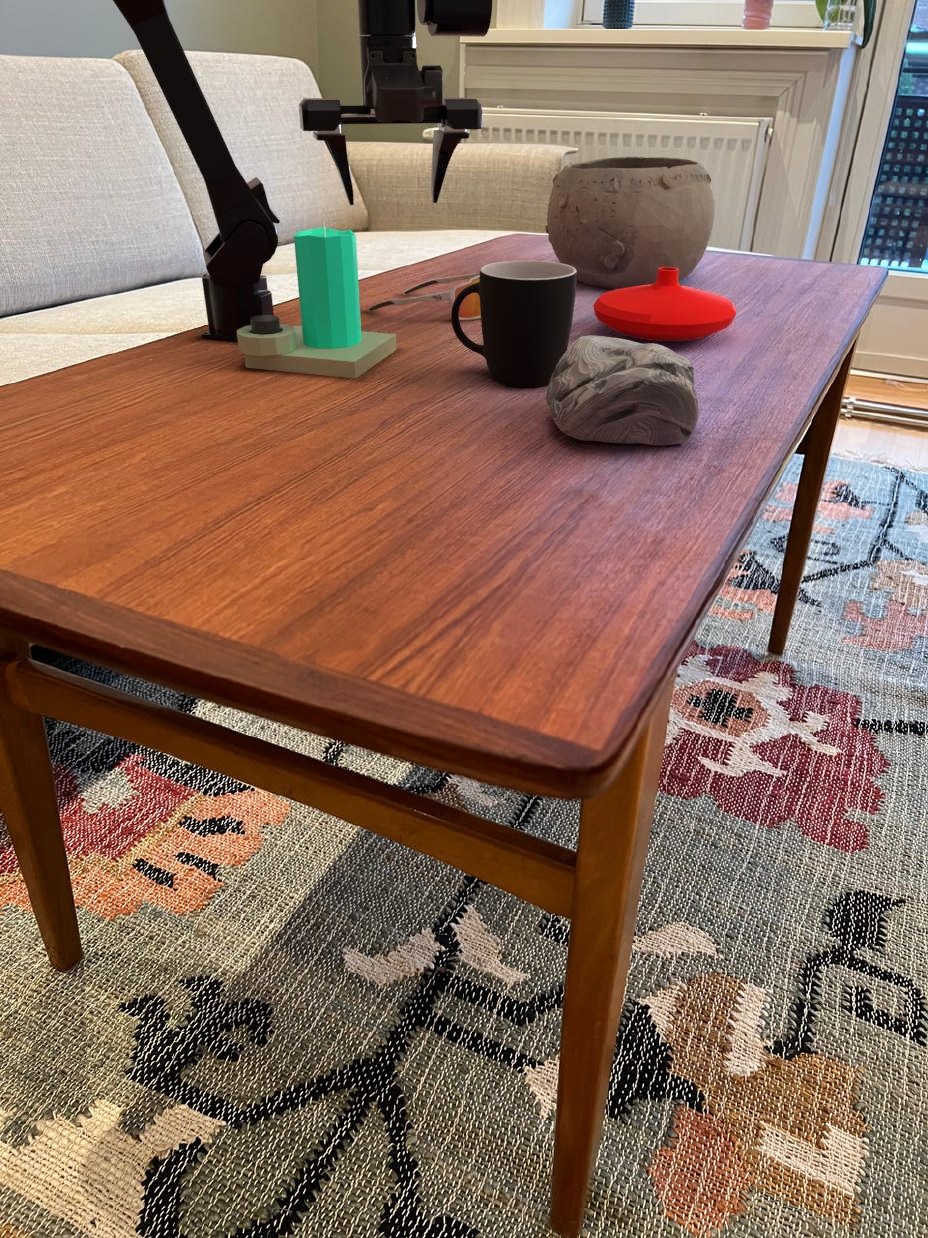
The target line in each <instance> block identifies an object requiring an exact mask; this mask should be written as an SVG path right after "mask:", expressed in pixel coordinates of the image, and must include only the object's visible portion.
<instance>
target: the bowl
mask: <svg viewBox="0 0 928 1238" xmlns="http://www.w3.org/2000/svg"><path fill="white" fill-rule="evenodd" d="M552 184H553V185H552V188H551V192H550V196H549V200H548V205H547V213H546V223H547V225H545V226H544V229H545V233H547V235H548V242H549V243H550V244H551V247H552V250H553V252H554V253H555V256H556V257H557V259H558V261H559V263H562V264H566V265H569V266H572V267H574V268H575V269H576V271H577V281H579V282H581V283H582V284H584V285H588V286H592V287H598V288H606V289H621V288H628V287H634V286H640V285H649V284H654V283H656V280H657V274H658V268H660V267H674V268H678V269H679V273H678V283H681V282H683V281H684V280H685V279H686V278H687V277H688V276H690V275H691V274H692V273H693V272H694V270H695V269H696V268H697V266H698V265H699V263H700V262H701V260H702V259H703V257H704V255H705V253H706V250H707V248H708V245H709V242H710V240H711V236H712V233H713V228H714V222H715V219H716V218H715V217H716V200H715V198H716V197H715V192H714V190H713V186H712V178H711V175H710V173H708V171H707V169H706V168H705V166H703V164H702V163H701V162H698V161H696V160H692V159H686V158H680V157H679V158H678V157H663V156H661V157H660V156H658V157H657V156H656V157H654V156H653V157H651V156H650V157H644V156H619V157H617V156H616V157H606V158H599V159H593V160H588V161H582V162H574V163H569V164H567V165H565V166H564V167H563V168H562V169H561V170H560V171H559V172H558V173H556V174H555V176H554V177H553V178H552Z"/></svg>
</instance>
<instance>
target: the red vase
mask: <svg viewBox="0 0 928 1238" xmlns="http://www.w3.org/2000/svg"><path fill="white" fill-rule="evenodd" d="M678 273H679V269H678V268H674V267H660V268H658V274H657V280H656V283H654V284H649V285H640V286H634V287H628V288H621V289H620V288H615V289H612V290H608V291H605V292H604V293H602V294H600V295H599V297H598V298H596V300H595V301H594V303H593V305H592V308H593V312H594V315H595V318H596V319H597V320H598V321H599V322H601V323H602V324H604V325H605V326H607V327H609V328H610V329H612V330H614V331H615V332H617V333H619V334H621V335H624V336H627V337H630V338H631V337H632V338H635V339H641V340H647V341H656V342H657V341H658V342H682V341H684V342H685V341H693V340H700V339H704V338H706V337H708V336H711V335H713V334H715V333H718V332H720V331H722V330H725V329H728V327H730V326H731V325H732V324H733V322H734V320H735V318H736V316H737V308H736V307H735V305H734V303H733V301H731V300H730V299H729V298H728V297H725V296H723V295H721V294H717V293H713V292H710V291H707V290H704V289H703V290H702V289H698V288H695V287H691V286H686V285H681V284H680V283H679V282H678Z"/></svg>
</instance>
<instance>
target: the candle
mask: <svg viewBox="0 0 928 1238" xmlns="http://www.w3.org/2000/svg"><path fill="white" fill-rule="evenodd" d="M322 221H323V222H322V223H323V224H322V225H323V227H317V228H310V229H305V230H300V231H297V232H296V233H295V234H294V235H293V242H294V243H293V244H294V253H295V254H294V255H295V266H296V276H297V278H296V279H297V289H298V298H299V300H298V301H299V311H300V324H301V326H302V335H303V342H304V343H305V344H306V345H307V346H311V347H315V348H327V349H335V348H344V347H350V346H353V345H356V344H359V342H360V341H361V340H362V337H361V331H362V324H361V323H362V322H361V306H360V305H361V303H360V302H361V301H360V287H359V286H360V285H359V268H358V247H357V235H356V233H354V231H353V230H352V229H346V230H338V229H334V228H330V227H326V221H325V215H324V214H323V215H322Z"/></svg>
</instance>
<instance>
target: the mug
mask: <svg viewBox="0 0 928 1238" xmlns="http://www.w3.org/2000/svg"><path fill="white" fill-rule="evenodd" d="M479 272H480V279H479V282H478V283H475V284H472V285H470V286H468V287H466V288H465V289H463V290H462V291H461V292H460V293H459V295H458V296H457V297H456V299H455V301H454V303H453V306H452V311H451V315H450V321H451V322H450V323H451V327H452V330H453V333H454V334H455V336H456V339H458V341H459V342H460V343H461V344H462V345H463V346H464V347H465V348H467V349H468V350H470V351H472V352H474V353H476V354H479V355H480V356H481V357H483V358H484V359H485V361H486V366H487V370H488V372H489V375H490V376H491V378H492V380H494V381H495V382H497V383H499V384H501V385H505V386H508V387H515V388H539V387H544V386H548V385H549V383H550V380H551V377H552V374H553V372H554V370H555V368H556V366H557V364H558V362H559V360H560V359H561V357H562V356H563V355H564V353H565V352H566V351H567V350H568V348H569V343H570V342H569V341H570V337H571V331H572V326H573V325H572V324H573V316H574V309H575V302H576V292H577V283H578V282H577V281H578V280H577V271H576V269H575V268H574V267H572V266H569V265H566V264H562V263H560V262H557V261H556V262H555V261H547V260H528V259H526V260H525V259H522V260H520V259H519V260H518V259H517V260H505V261H504V260H502V261H497V262H491V263H488V264H487V263H486V264H484V265H482V266H481V267H480V269H479ZM472 293H478V295H479V297H480V312H481V318H480V324H481V335H482V342H483V344H478V343H476V342H474V341H473V340H471V339H470V338H469V337H468V336H467V334H466V333H465V332H464V331H463V328H462V325H461V323H460V320H459V309H460V306H461V303H462V302H463V300H464V299H465V298H466V297H467V296H468V295H469V294H472Z"/></svg>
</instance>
